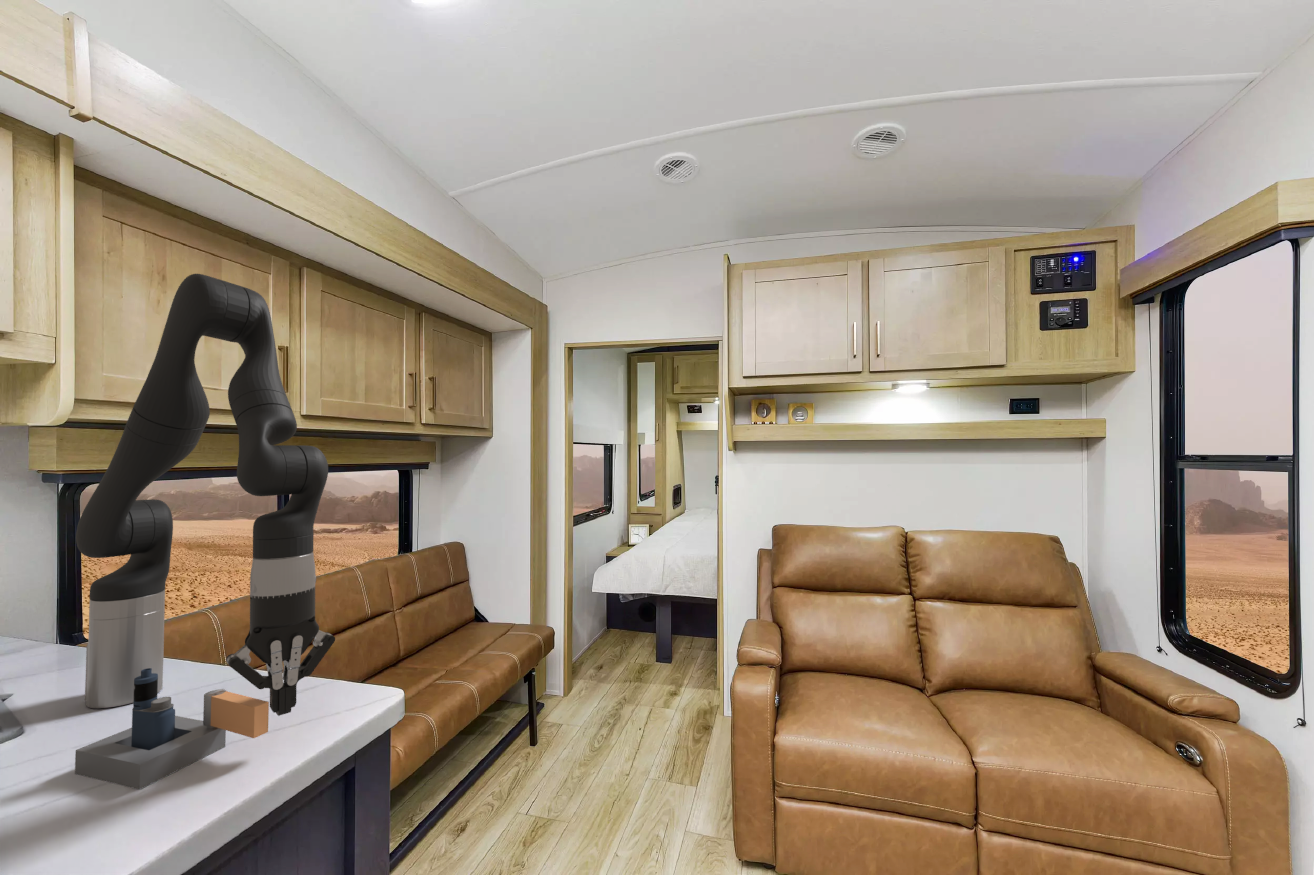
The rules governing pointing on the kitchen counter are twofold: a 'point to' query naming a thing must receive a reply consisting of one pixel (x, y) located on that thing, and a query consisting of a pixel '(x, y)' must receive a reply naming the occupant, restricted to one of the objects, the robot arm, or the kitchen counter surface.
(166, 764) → the socket block
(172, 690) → the kitchen counter surface
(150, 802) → the kitchen counter surface
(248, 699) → the orange bar
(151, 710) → the vaping device
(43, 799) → the kitchen counter surface
